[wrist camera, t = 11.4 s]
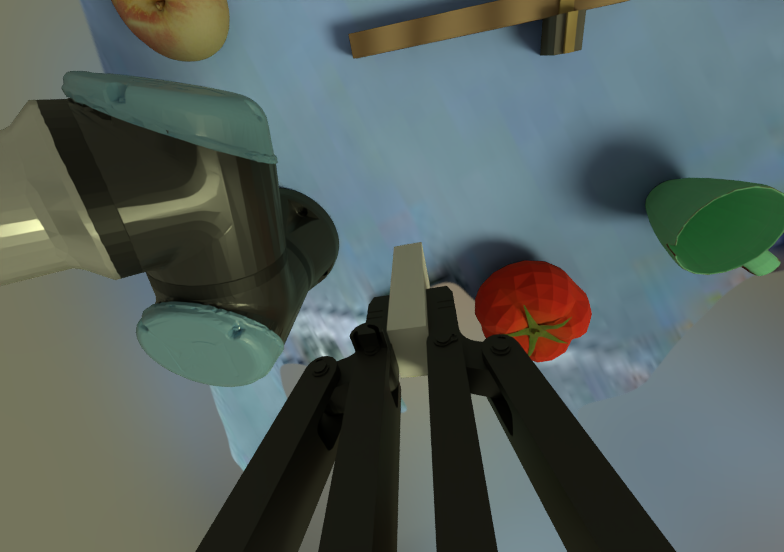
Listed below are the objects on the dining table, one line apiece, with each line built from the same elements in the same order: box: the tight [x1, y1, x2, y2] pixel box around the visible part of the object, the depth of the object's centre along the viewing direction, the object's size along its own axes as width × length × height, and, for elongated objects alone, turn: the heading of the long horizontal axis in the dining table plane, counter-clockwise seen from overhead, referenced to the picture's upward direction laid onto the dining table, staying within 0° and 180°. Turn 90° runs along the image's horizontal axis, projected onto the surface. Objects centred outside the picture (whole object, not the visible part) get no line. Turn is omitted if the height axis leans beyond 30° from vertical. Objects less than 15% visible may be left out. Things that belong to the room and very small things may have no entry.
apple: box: [111, 0, 229, 61], centre depth 30 cm, size 9×9×8 cm
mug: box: [645, 178, 784, 276], centre depth 37 cm, size 15×10×10 cm
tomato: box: [475, 261, 592, 362], centre depth 46 cm, size 14×16×10 cm
